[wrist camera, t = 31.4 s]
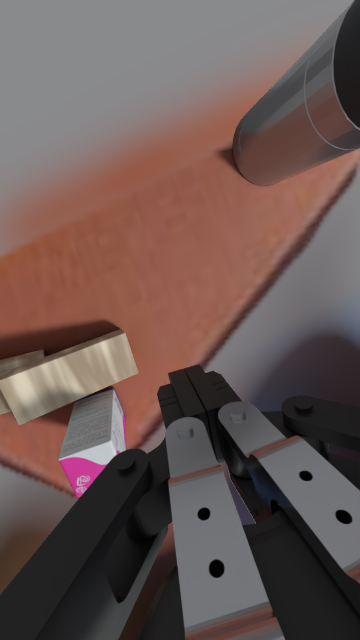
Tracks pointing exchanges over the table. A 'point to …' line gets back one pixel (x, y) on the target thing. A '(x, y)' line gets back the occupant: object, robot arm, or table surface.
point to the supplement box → (92, 438)
